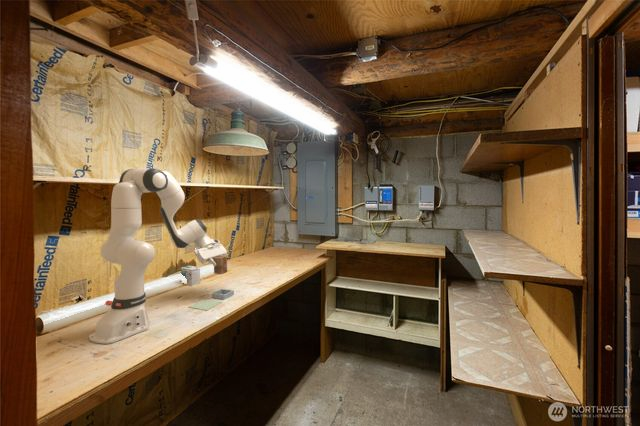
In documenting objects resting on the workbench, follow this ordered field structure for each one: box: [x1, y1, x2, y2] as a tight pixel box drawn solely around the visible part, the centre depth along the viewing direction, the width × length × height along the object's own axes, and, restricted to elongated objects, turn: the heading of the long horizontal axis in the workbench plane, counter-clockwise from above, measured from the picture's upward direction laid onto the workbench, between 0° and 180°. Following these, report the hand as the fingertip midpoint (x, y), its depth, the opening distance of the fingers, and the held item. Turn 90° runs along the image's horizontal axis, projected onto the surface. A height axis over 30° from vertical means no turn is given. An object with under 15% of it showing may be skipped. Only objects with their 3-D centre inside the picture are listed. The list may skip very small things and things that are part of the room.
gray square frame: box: [211, 288, 235, 301], centre depth 173 cm, size 9×9×2 cm
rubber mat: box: [188, 298, 223, 312], centre depth 160 cm, size 12×12×1 cm
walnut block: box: [213, 255, 228, 275], centre depth 170 cm, size 5×5×9 cm
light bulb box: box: [180, 265, 201, 287], centre depth 196 cm, size 11×7×11 cm, turn 62°
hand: (220, 264), depth 170 cm, fingers closed on walnut block, 5 cm apart
